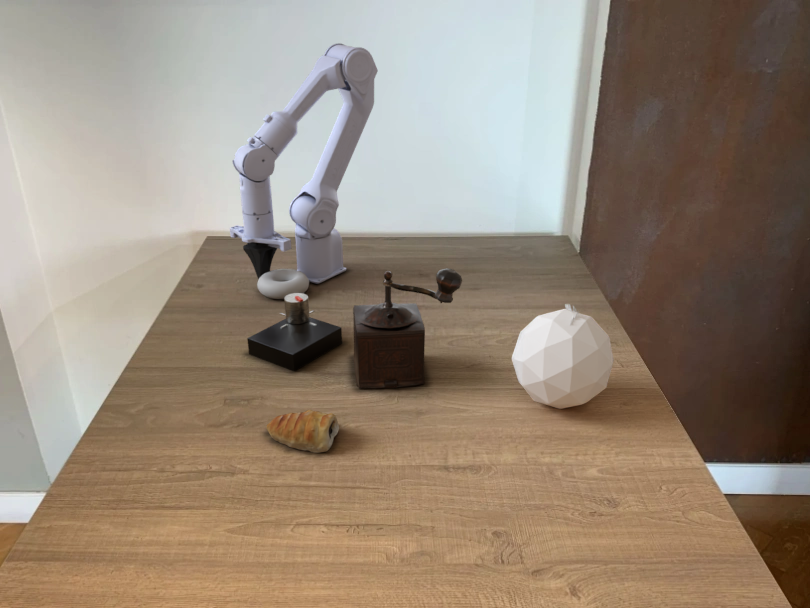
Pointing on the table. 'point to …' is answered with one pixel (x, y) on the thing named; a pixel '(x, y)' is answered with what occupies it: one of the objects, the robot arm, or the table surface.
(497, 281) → the table surface
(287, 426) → the pastry
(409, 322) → the manual coffee grinder
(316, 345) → the stove
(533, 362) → the geodesic sphere
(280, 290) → the donut
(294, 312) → the stove knob
